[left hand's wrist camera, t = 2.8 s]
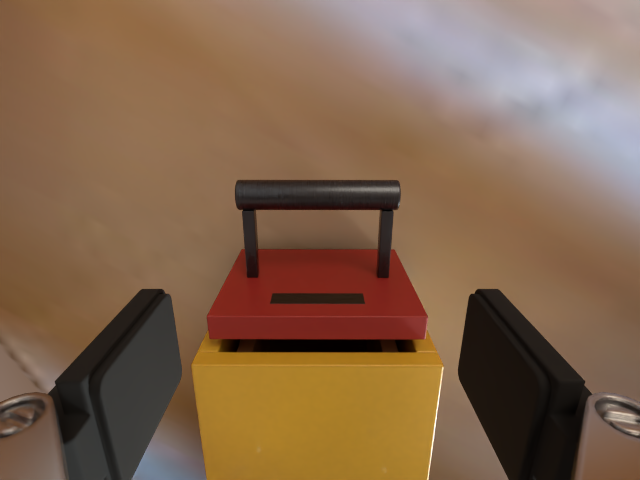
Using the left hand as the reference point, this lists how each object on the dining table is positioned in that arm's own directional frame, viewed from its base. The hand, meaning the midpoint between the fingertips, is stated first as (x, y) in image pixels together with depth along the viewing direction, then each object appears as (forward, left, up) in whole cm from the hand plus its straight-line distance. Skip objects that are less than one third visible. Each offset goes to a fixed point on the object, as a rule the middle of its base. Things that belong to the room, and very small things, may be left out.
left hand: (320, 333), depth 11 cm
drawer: (+4, -8, -13) cm, 16 cm away
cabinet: (+7, -13, -14) cm, 20 cm away
